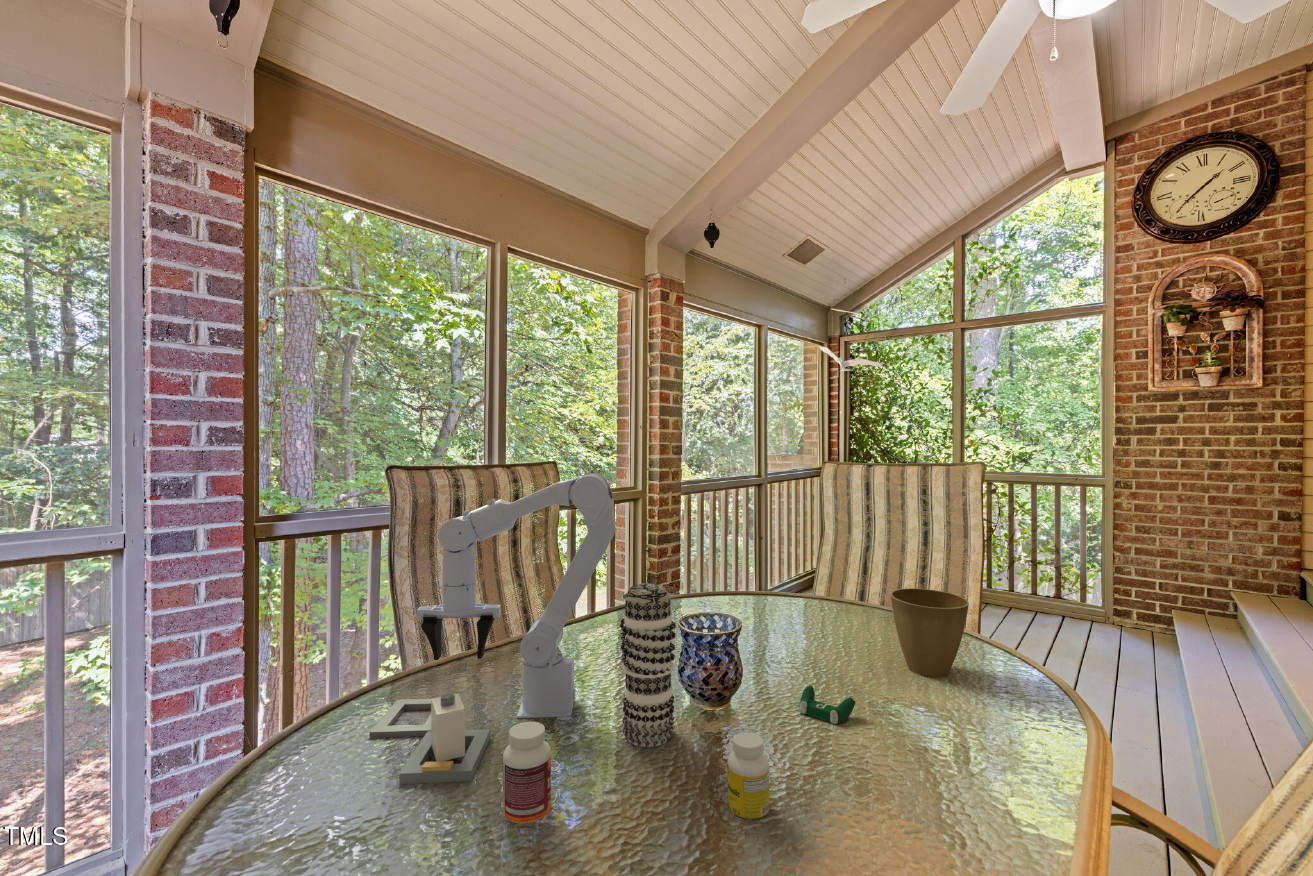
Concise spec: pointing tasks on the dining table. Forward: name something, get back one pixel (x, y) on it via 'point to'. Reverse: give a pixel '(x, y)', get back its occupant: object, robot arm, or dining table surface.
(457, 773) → the port
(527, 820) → the pill bottle
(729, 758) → the supplement bottle
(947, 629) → the plant pot
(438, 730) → the plug
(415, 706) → the square frame plate
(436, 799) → the dining table surface
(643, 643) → the decorative candle
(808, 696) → the gaming controller
